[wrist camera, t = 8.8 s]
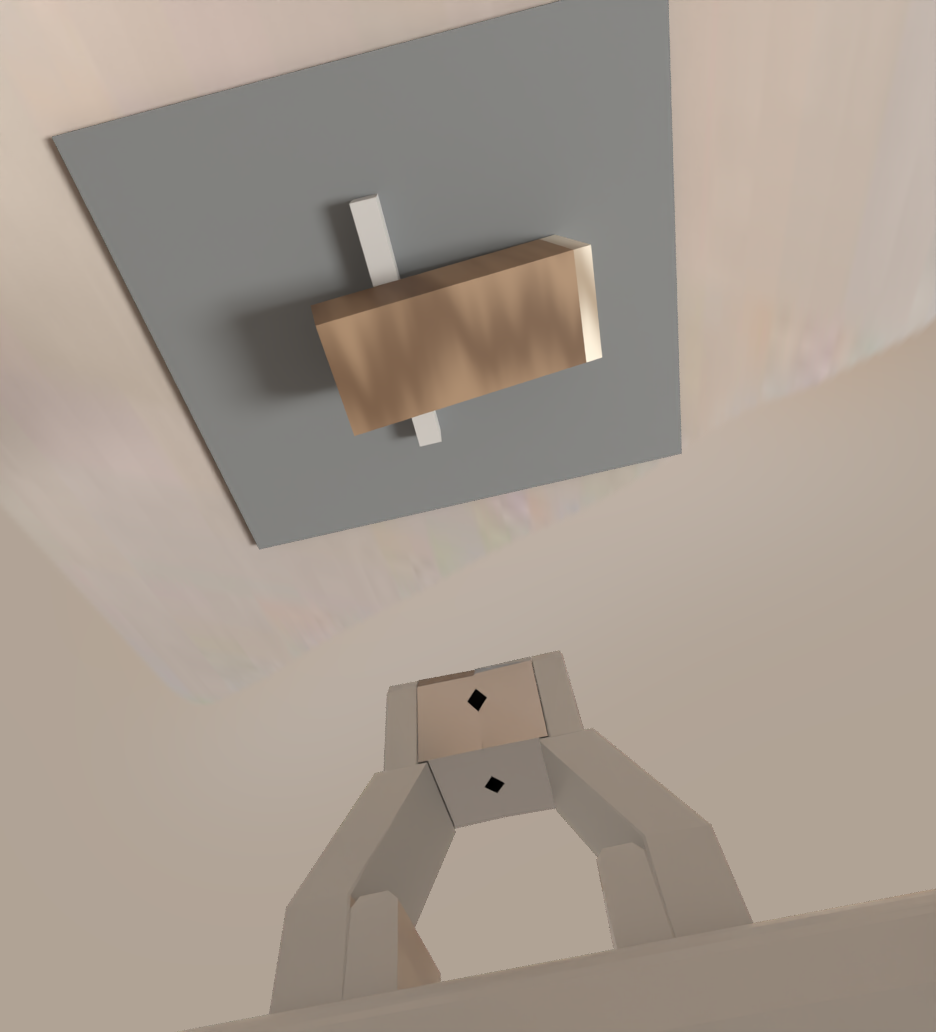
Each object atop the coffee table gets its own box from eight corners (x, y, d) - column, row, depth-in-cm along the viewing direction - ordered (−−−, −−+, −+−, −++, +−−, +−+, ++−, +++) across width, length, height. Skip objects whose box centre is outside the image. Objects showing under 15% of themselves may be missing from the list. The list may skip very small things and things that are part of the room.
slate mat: (58, 136, 26) (33, 137, 25) (662, -26, 25) (681, -37, 23) (261, 543, 38) (254, 564, 37) (677, 449, 37) (691, 465, 35)
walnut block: (315, 325, 25) (590, 244, 26) (310, 305, 28) (555, 234, 29) (354, 436, 27) (602, 357, 29) (345, 405, 31) (568, 336, 32)
